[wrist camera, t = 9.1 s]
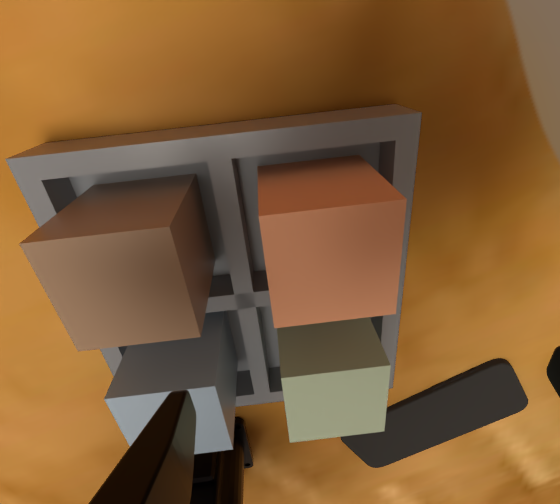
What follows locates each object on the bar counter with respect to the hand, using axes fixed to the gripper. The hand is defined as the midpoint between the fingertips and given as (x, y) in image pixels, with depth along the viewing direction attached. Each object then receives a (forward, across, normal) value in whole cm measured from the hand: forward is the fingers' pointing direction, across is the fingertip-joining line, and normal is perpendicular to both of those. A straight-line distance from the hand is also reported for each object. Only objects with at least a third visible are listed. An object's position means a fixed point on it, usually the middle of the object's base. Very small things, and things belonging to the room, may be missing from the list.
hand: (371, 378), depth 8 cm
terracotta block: (+11, 0, 0) cm, 11 cm away
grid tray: (+12, +4, +4) cm, 13 cm away
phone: (+12, -10, +21) cm, 26 cm away
